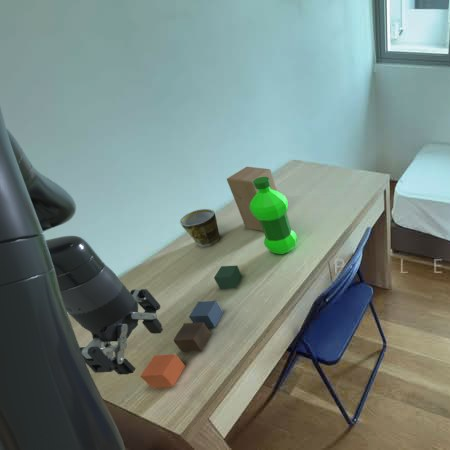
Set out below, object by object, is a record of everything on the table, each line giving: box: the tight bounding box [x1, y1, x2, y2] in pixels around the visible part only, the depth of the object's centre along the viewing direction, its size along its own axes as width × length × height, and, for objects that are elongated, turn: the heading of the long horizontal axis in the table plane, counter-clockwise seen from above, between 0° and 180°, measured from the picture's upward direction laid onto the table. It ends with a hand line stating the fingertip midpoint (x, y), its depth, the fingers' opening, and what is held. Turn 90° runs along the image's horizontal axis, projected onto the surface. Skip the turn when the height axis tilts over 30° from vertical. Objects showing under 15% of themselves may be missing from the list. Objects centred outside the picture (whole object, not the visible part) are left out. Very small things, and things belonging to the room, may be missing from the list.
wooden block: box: [226, 166, 278, 232], centre depth 108 cm, size 10×10×20 cm
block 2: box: [188, 300, 224, 329], centre depth 77 cm, size 5×5×5 cm
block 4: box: [213, 265, 243, 290], centre depth 87 cm, size 5×5×5 cm
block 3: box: [172, 322, 212, 353], centre depth 71 cm, size 5×5×5 cm
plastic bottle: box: [250, 177, 298, 255], centre depth 93 cm, size 10×10×25 cm
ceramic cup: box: [179, 208, 221, 248], centre depth 102 cm, size 13×10×10 cm
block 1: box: [140, 353, 186, 389], centre depth 65 cm, size 5×5×5 cm
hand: (144, 350), depth 60 cm, fingers open, 8 cm apart
